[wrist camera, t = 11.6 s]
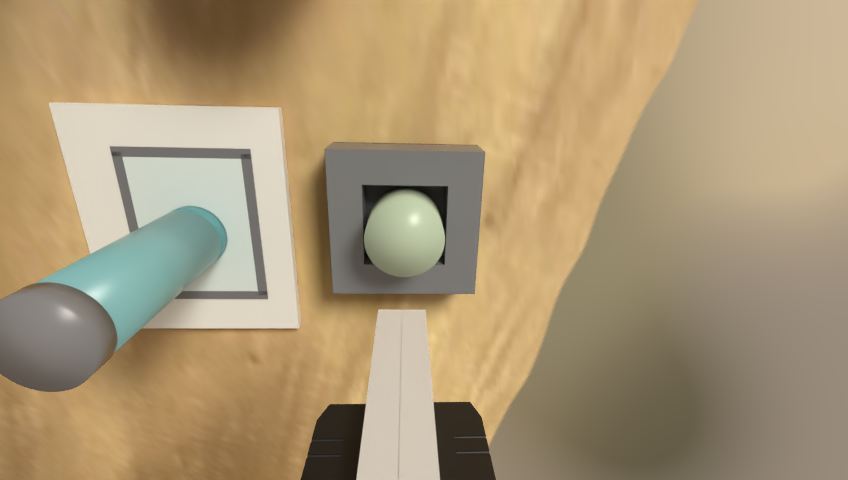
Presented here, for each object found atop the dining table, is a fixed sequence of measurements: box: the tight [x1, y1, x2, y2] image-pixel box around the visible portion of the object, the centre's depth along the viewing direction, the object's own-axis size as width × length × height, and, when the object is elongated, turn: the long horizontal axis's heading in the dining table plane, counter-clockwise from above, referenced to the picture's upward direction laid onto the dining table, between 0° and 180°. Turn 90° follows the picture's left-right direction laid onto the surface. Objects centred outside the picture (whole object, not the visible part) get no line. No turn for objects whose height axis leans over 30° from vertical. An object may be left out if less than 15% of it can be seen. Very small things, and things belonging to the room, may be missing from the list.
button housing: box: [325, 142, 485, 294], centre depth 26 cm, size 9×9×3 cm
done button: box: [364, 188, 445, 277], centre depth 24 cm, size 4×4×3 cm
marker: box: [0, 206, 228, 392], centre depth 21 cm, size 4×4×12 cm
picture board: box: [49, 102, 301, 328], centre depth 27 cm, size 15×13×1 cm
